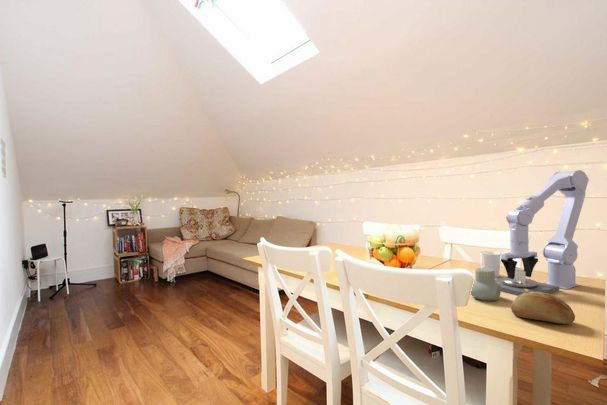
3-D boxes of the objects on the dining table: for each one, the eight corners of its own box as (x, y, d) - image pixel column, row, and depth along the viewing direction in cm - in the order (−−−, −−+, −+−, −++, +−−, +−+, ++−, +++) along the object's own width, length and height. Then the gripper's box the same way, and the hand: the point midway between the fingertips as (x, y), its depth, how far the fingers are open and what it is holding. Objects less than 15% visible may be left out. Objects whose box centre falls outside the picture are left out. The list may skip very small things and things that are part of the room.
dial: (498, 279, 132) (498, 265, 132) (530, 280, 129) (530, 266, 129) (508, 287, 121) (507, 272, 121) (542, 288, 118) (542, 273, 118)
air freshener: (495, 305, 108) (495, 274, 108) (467, 300, 114) (467, 271, 114) (501, 296, 117) (501, 268, 116) (476, 292, 122) (475, 265, 122)
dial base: (509, 279, 137) (509, 275, 137) (559, 290, 122) (559, 285, 122) (482, 286, 129) (481, 282, 129) (532, 299, 113) (532, 294, 113)
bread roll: (575, 332, 87) (575, 302, 87) (508, 320, 96) (508, 292, 96) (574, 320, 95) (574, 292, 94) (512, 310, 104) (512, 284, 103)
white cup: (481, 272, 150) (481, 250, 150) (501, 274, 145) (501, 252, 145) (478, 276, 144) (478, 253, 143) (499, 278, 139) (499, 255, 139)
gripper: (512, 244, 119) (512, 281, 120) (544, 241, 123) (544, 278, 123) (496, 241, 126) (496, 276, 126) (527, 239, 129) (527, 273, 130)
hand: (519, 277), depth 125 cm, fingers open, 7 cm apart
